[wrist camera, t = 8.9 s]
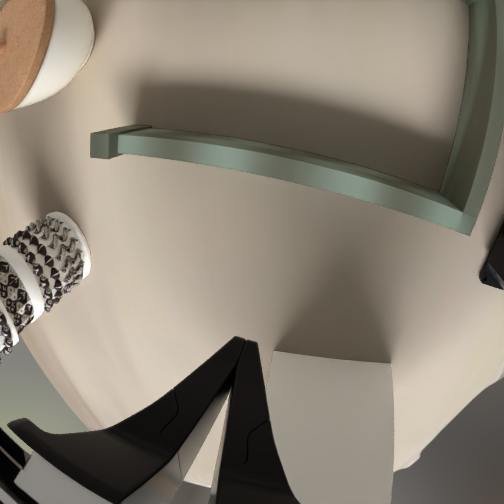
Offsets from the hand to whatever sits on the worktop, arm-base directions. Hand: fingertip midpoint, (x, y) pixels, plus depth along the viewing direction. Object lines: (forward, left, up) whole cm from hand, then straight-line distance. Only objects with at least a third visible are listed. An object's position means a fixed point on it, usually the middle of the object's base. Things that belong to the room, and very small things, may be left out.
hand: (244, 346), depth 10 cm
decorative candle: (+23, +8, -12) cm, 27 cm away
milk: (-8, +18, -12) cm, 23 cm away
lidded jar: (+21, -13, -12) cm, 28 cm away
